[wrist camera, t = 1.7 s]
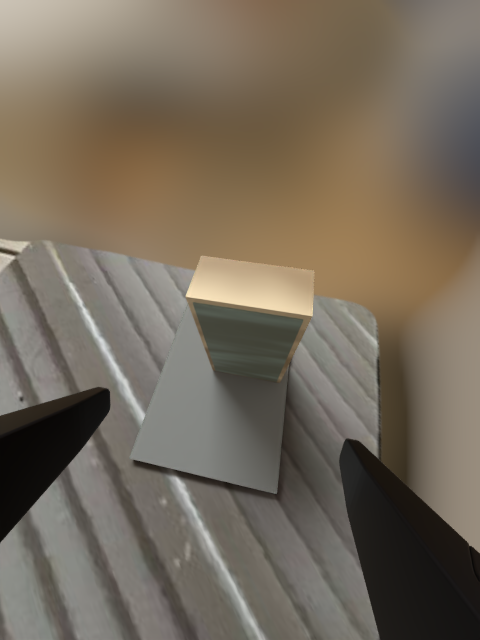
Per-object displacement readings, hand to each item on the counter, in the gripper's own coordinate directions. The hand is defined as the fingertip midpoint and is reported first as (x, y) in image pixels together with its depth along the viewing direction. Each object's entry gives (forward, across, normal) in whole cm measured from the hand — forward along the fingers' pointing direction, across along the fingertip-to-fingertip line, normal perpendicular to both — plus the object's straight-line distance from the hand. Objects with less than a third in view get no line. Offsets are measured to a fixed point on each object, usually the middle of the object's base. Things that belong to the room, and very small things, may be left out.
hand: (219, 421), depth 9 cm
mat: (+13, +2, +5) cm, 14 cm away
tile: (+14, 0, +4) cm, 14 cm away
